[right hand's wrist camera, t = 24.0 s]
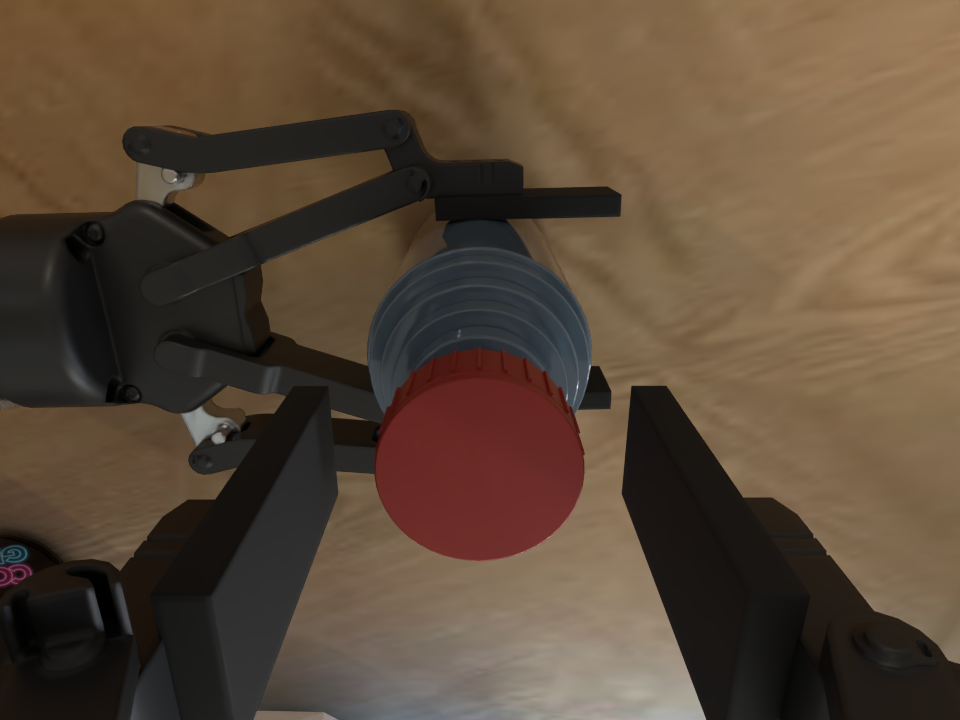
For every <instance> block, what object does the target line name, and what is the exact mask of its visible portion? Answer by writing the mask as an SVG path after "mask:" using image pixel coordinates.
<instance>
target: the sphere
mask: <svg viewBox="0 0 960 720" xmlns="http://www.w3.org/2000/svg"><path fill="white" fill-rule="evenodd" d="M254 720H338V719H336V718H334V717H332V716H330V715H328V714H326V713H324V712H292V711H257V712H256V715H255V717H254Z"/></svg>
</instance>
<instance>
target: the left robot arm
mask: <svg viewBox="0 0 960 720" xmlns="http://www.w3.org/2000/svg"><path fill="white" fill-rule="evenodd" d="M122 142H123V148H124V150H125V152H126V154H127V155H128V156H129V157H130V158H131V159H132V160H134V161H136V162H137V178H136V200H135V201H131V202H129V203H127V204H125V205H124V206H122V207H121V208H119V209H118V210H116V211H114V212H94V213H55V214H18V215H10V216H7V217H4V218H0V409H9V408H15V407H19V406H23V407H30V408H46V407H95V406H117V405H126V404H134V403H145V404H150V405H154V406H157V407H159V408H162V409H164V410H166V411H168V412H172V413H177V414H181V416H182V418H183V420H184V422H185V424H186V426H187V428H188V431H189V433H190V435H191V437H192V439H193V441H194V443H195V445H196V448H195V449H194V450H193V452H192V453H191V454H190V455H189V460H188V461H189V464H190V466H191V468H192V469H193V470H194V471H196V472H197V473H200V474H203V475H205V474H212V473H216V472H220V471H224V470H228V469H232V468H236V467H238V466H239V465H240V463H241V462H242V460H243V459H244V457H245V456H246V454H247V453H248V452H249V450H250V449H251V447H252V446H253V444H254V443H255V441H256V440H257V438H258V437H259V436H260V434H261V433H262V431H263V430H264V428H265V427H266V425H267V424H268V422H269V421H270V420H271V418H272V417H273V415H274V414H255V415H250V416H245V412H244V410H242V409H241V408H234V409H233V408H221V407H219V406H217V405H216V404H215V403H214V402H213V401H212V400H211V398H212V397H214V396H215V395H216V394H217V393H219V392H220V391H221V390H223V389H224V388H225V387H226V386H228V385H229V386H232V387H236V388H239V389H242V390H246V391H249V392H253V393H256V394H269V393H278V394H281V395H285V396H287V395H288V393H289V392H290V391H291V389H292V388H293V386H328V387H329V398H330V409H332V410H336V411H339V412H342V413H346V414H349V415H353V416H356V417H359V418H363V419H366V420H353V419H340V418H331V420H332V431H333V442H334V453H335V464H336V471H342V472H356V473H370V474H375V457H376V456H375V455H374V453H375V449H376V446H377V443H378V439H379V436H380V433H379V430H380V427H381V424H382V421H383V418H384V413H383V411H382V410H381V408H380V406H379V404H378V401H377V399H376V397H375V394H374V390H373V387H372V383H371V377H370V373H369V368H368V366H366V365H363V364H359V363H356V362H353V361H349V360H346V359H343V358H340V357H336V356H333V355H330V354H326V353H323V352H320V351H317V350H313V349H310V348H307V347H303V346H300V345H298V344H296V342H295V341H294V340H293V339H291V338H289V337H286V336H283V335H280V334H276V333H273V332H270V325H269V319H268V316H267V314H266V312H265V309H264V307H263V305H262V302H261V293H262V285H263V278H262V271H261V264H263V263H265V262H267V261H270V260H272V259H275V258H277V257H280V256H282V255H285V254H287V253H290V252H292V251H295V250H297V249H300V248H302V247H305V246H307V245H309V244H312V243H314V242H317V241H319V240H322V239H324V238H327V237H329V236H332V235H334V234H337V233H339V232H342V231H344V230H347V229H349V228H352V227H354V226H357V225H359V224H362V223H364V222H367V221H369V220H372V219H374V218H377V217H379V216H382V215H384V214H387V213H389V212H392V211H394V210H397V209H399V208H401V207H404V206H406V205H409V204H411V203H414V202H416V201H419V202H421V201H422V200H424V199H429V198H435V216H436V221H461V220H500V219H540V218H579V217H619V216H620V212H621V194H619V193H618V192H616V191H614V190H612V189H611V188H609V187H571V188H532V189H523V166H522V165H521V164H519V163H516V162H514V161H511V160H509V159H487V160H449V161H444V160H438V159H436V158H434V157H432V156H431V155H430V154H429V153H428V152H427V151H426V149H425V147H424V145H423V142H422V140H421V137H420V135H419V132H418V130H417V127H416V123H415V120H414V118H413V117H412V116H411V115H410V114H409V113H407V112H405V111H400V110H386V111H379V112H371V113H364V114H357V115H350V116H343V117H336V118H329V119H322V120H315V121H308V122H301V123H294V124H287V125H280V126H273V127H265V128H258V129H251V130H244V131H237V132H230V133H223V134H216V135H211V134H207V133H202V132H198V131H194V130H189V129H185V128H180V127H176V126H137V127H132V128H130V129H128V130H127V131H126V132H125V134H124V136H123V140H122ZM380 149H385V152H386V154H387V157H388V159H389V161H390V164H391V166H392V168H393V171H390V172H388V173H385V174H383V175H381V176H378V177H376V178H373V179H371V180H368V181H366V182H364V183H361V184H359V185H356V186H354V187H351V188H349V189H347V190H344V191H342V192H339V193H337V194H334V195H332V196H330V197H327V198H325V199H322V200H320V201H317V202H315V203H312V204H310V205H308V206H305V207H303V208H300V209H298V210H295V211H293V212H291V213H288V214H286V215H283V216H281V217H278V218H276V219H274V220H271V221H268V222H265V223H263V224H261V225H258V226H256V227H253V228H251V229H248V230H246V231H244V232H241V233H239V234H236V235H234V236H231V237H228V236H227V235H225V234H224V233H222V232H220V231H219V230H217V229H216V228H214V227H213V226H211V225H209V224H208V223H206V222H205V221H203V220H201V219H200V218H198V217H197V216H195V215H193V214H192V213H190V212H189V211H187V210H186V209H184V208H182V207H181V206H179V205H178V204H176V203H174V199H175V196H176V194H177V193H178V192H179V191H182V190H188V189H192V188H195V187H198V186H199V185H201V184H202V182H203V181H204V178H205V173H214V172H221V171H228V170H236V169H243V168H250V167H257V166H265V165H272V164H279V163H286V162H293V161H301V160H308V159H315V158H322V157H329V156H337V155H344V154H351V153H358V152H365V151H373V150H380ZM610 406H611V390H610V388H609V386H608V383H607V381H606V379H605V377H604V375H603V373H602V371H601V369H600V367H599V366H591V368H590V374H589V378H588V383H587V387H586V390H585V394H584V397H583V399H582V401H581V404H580V406H579V408H578V410H585V409H610ZM367 420H370V421H367Z"/></svg>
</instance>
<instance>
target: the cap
mask: <svg viewBox="0 0 960 720" xmlns="http://www.w3.org/2000/svg"><path fill="white" fill-rule="evenodd" d="M379 433H380V436H379V439H378V443H377V446H376V449H375V453H374V455H375V456H376V457H375V481H376V487H377V490H378V493H379V497H380V499H381V501H382V504H383V506H384V508H385V510H386V511H387V513H388V514H389V516H390V517H391V519H392V520H393V521H394V523H395V524H396V525H397V526H398V527H399V528H400V529H401V530H402V531H403V532H404V533H405V534H406V535H407V536H408V537H410V538H411V539H412V540H414V541H415V542H417V543H418V544H420V545H422V546H423V547H425V548H427V549H429V550H431V551H434V552H436V553H439V554H441V555H444V556H448V557H452V558H456V559H462V560H472V561H487V560H497V559H502V558H507V557H511V556H514V555H518V554H520V553H523V552H525V551H528V550H530V549H532V548H534V547H535V546H537V545H539V544H541V543H542V542H544V541H545V540H546V539H548V538H549V537H551V536H552V535H553V534H554V533H555V532H556V531H557V530H558V529H559V528H560V527H561V526H562V525H563V524H564V522H565V521H566V520H567V519H568V517H569V516H570V514H571V513H572V511H573V509H574V508H575V506H576V503H577V501H578V499H579V497H580V493H581V490H582V486H583V480H584V458H583V455H584V449H583V446H582V443H581V440H580V437H579V433H580V431H579V427H578V424H577V421H576V418H575V415H574V412H573V408H572V406H568V403H567V401H566V398H565V395H564V392H563V389H562V387H559V388H558V386H557V385H556V384H555V383H554V382H553V381H552V380H551V378H550V377H549V375H548V372H547V371H546V370H544V371H542V370H540V369H539V368H538V367H536V366H535V365H533V364H531V363H530V362H529V360H528V358H526V357H525V358H524V359H521V358H519V357H517V356H514V355H511V354H509V353H506V350H502V351H501V352H499V351H493V350H481V347H477V349H476V350H474V349H473V350H465V351H460V352H457V350H453V353H451V354H448V355H444V356H442V357H439V358H437V359H434V357H433V358H431V359H430V362H429V363H428V364H426V365H424V366H423V367H421V368H420V369H418V370H417V371H416V372H415V371H414V370H413V371H412V372H411V374H410V377H409V378H408V379H407V381H406V382H405V383H404V384H403V385H402V386H401V388H400V387H397V389H396V391H395V394H394V398H393V401H392V403H391V405H390V407H389V406H387V408H386V411H385V414H384V418H383V421H382V424H381V427H380V430H379Z"/></svg>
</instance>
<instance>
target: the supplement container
mask: <svg viewBox="0 0 960 720" xmlns="http://www.w3.org/2000/svg"><path fill="white" fill-rule="evenodd" d="M62 563H63V562H62V561H61V560H60V559H59V557H58V556H57V555H56V554H55V553H54V552H52V551H51V550H50V549H49V548H47V547H46V546H44V545H42V544H41V543H39V542H37V541H35V540H32V539H30V538H26V537H23V536H19V535H11V534H0V599H1V597H2V596H3V595H4V593H5V592H7V591H8V590H9V589H11V588H12V587H13V586H15V585H16V584H18V583H19V582H20V581H22V580H23V579H24V578H26V577H29V576H31V575H33V574H35V573H37V572H39V571H41V570H43V569H45V568H48V567H51V566H55V565H58V564H62ZM9 664H11V659H10V656H9V653H8V650H7V647H6V644H5V641H4V638H3V635H2V632H1V629H0V667H2V666H5V665H9Z"/></svg>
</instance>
